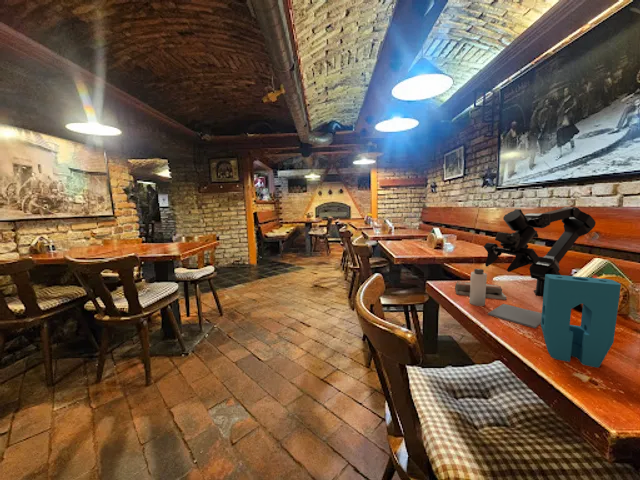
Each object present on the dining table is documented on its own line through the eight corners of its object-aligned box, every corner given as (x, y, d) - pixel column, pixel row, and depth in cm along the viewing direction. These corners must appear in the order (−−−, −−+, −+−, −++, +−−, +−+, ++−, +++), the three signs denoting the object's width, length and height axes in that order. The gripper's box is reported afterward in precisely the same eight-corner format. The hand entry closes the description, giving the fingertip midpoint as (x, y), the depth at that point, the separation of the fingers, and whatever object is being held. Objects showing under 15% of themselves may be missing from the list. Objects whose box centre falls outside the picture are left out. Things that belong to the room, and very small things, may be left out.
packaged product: (456, 284, 108) (455, 278, 117) (456, 295, 108) (454, 288, 117) (507, 289, 100) (502, 282, 109) (506, 301, 101) (501, 293, 110)
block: (601, 359, 61) (611, 279, 59) (612, 370, 57) (623, 285, 55) (537, 346, 67) (544, 273, 65) (542, 356, 63) (550, 278, 60)
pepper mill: (469, 300, 101) (471, 267, 100) (485, 302, 99) (487, 268, 97) (468, 304, 97) (470, 270, 96) (484, 306, 94) (487, 271, 93)
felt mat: (503, 305, 96) (503, 303, 96) (548, 316, 85) (548, 314, 85) (487, 314, 88) (487, 313, 87) (535, 328, 77) (535, 326, 77)
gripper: (488, 223, 106) (465, 251, 105) (535, 226, 88) (508, 259, 87) (502, 241, 109) (480, 268, 108) (550, 247, 91) (524, 279, 90)
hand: (496, 268), depth 98 cm, fingers open, 9 cm apart
